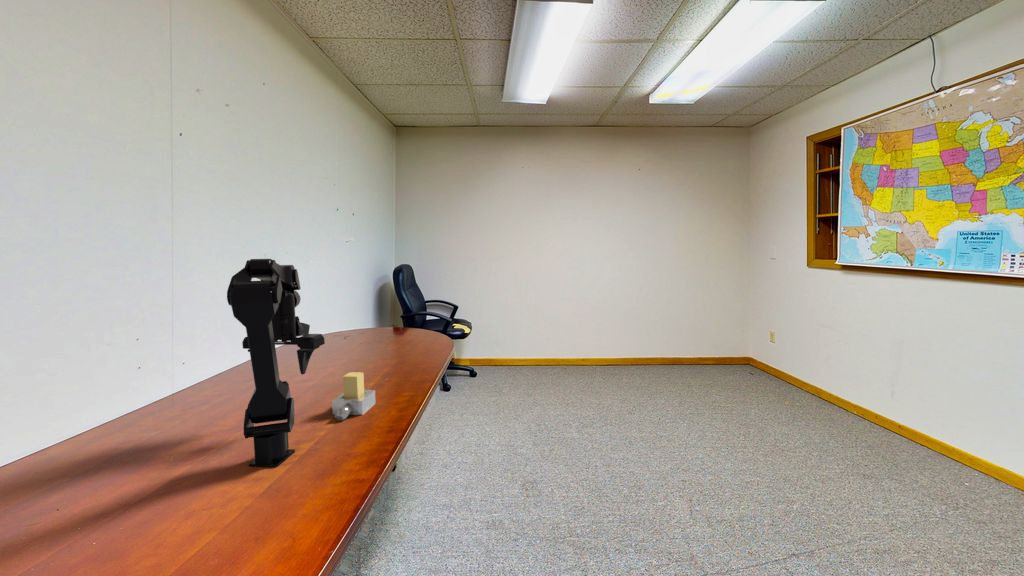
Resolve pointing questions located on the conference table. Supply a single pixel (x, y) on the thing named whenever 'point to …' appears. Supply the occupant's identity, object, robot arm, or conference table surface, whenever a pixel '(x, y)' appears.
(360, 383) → the butter yellow block
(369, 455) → the conference table surface
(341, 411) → the bracket head
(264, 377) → the robot arm
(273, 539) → the conference table surface
